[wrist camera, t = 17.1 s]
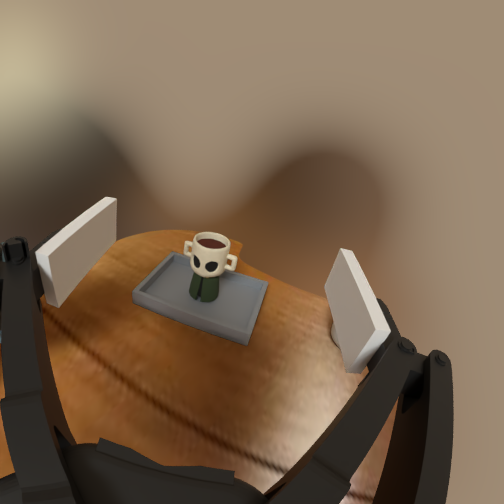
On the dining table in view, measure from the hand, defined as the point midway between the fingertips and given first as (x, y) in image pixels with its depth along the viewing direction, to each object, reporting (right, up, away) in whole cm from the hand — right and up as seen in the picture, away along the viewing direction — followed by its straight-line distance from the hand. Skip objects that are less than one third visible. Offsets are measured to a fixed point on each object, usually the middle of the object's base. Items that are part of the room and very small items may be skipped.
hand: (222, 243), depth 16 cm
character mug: (-9, -10, +43) cm, 45 cm away
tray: (-9, -10, +44) cm, 46 cm away
